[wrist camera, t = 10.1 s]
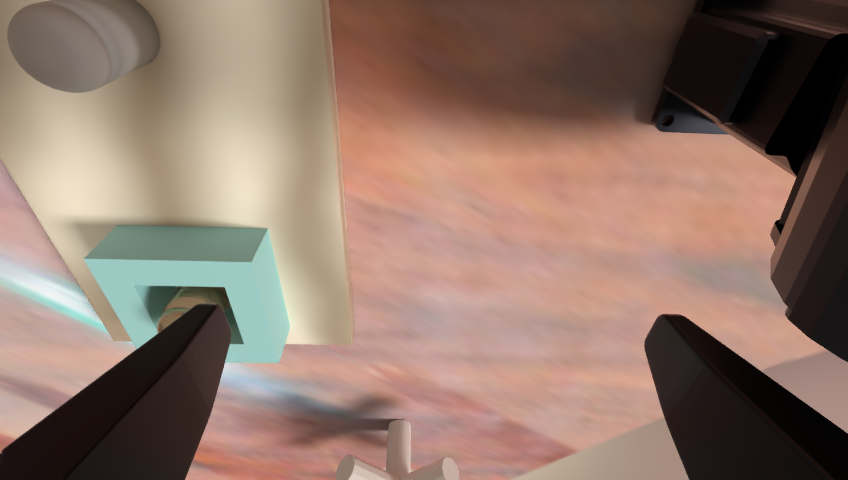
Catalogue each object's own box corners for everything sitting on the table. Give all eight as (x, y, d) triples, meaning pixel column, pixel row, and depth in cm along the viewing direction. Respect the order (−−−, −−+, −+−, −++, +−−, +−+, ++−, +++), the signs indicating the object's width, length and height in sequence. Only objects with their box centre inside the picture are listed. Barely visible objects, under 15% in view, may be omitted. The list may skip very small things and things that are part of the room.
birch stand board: (317, -145, 13) (264, -185, 8) (354, 326, 26) (341, 409, 22) (-154, -177, 12) (-487, -239, 8) (128, 321, 26) (65, 406, 21)
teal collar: (267, 228, 20) (251, 262, 18) (290, 326, 24) (279, 362, 22) (117, 224, 19) (83, 258, 17) (167, 325, 24) (144, 361, 22)
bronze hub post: (230, 264, 21) (195, 328, 18) (240, 298, 22) (210, 362, 19) (182, 263, 21) (137, 327, 18) (195, 297, 22) (156, 362, 19)
